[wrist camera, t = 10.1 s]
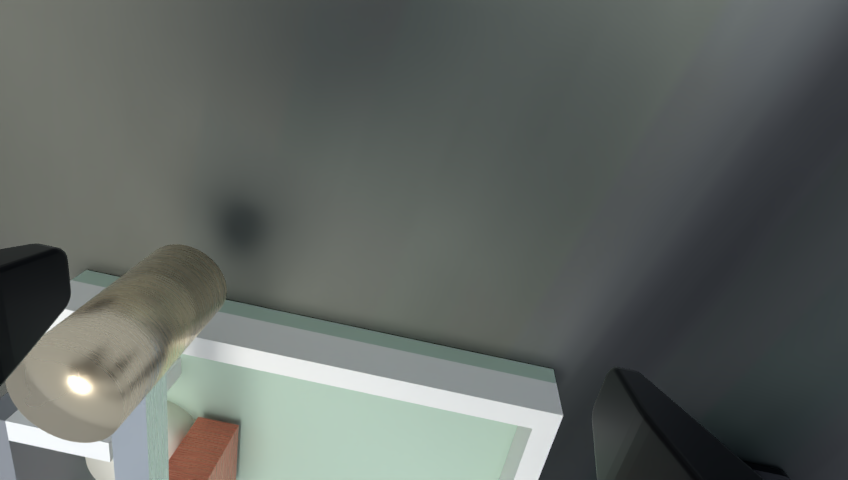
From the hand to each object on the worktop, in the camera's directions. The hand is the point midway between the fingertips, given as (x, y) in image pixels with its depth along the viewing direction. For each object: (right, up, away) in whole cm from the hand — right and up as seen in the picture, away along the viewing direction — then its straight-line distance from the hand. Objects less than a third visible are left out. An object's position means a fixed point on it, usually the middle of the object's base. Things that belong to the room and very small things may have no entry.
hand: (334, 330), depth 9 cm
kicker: (-8, -7, +17) cm, 20 cm away
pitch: (-5, -9, +19) cm, 22 cm away
